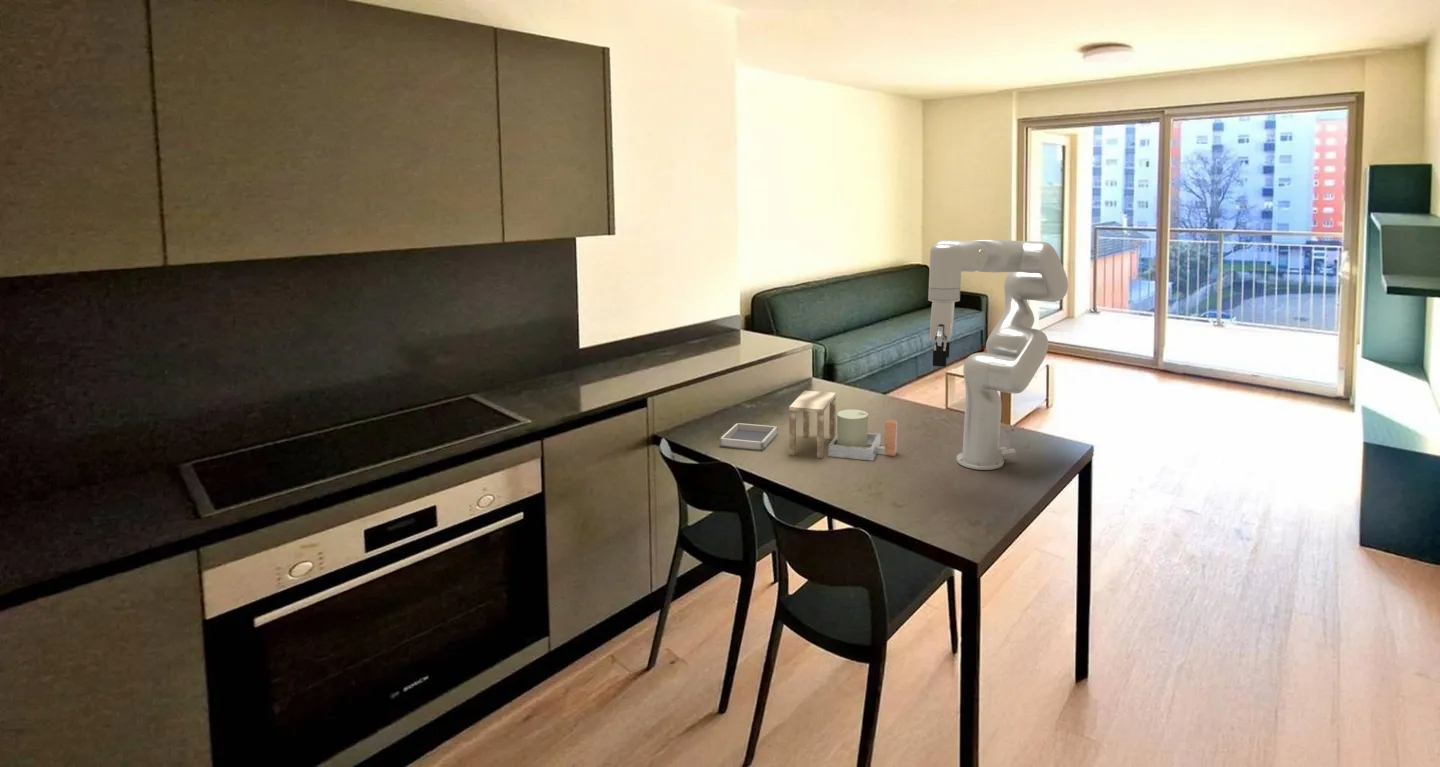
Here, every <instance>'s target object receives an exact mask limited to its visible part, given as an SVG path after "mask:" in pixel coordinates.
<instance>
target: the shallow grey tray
mask: <svg viewBox="0 0 1440 767" xmlns="http://www.w3.org/2000/svg"><path fill="white" fill-rule="evenodd" d="M884 429H885V430H884V432H885V433H884V446H883V445H881V440H882V439H881V438H882V434H881V433H874V432H873V433H872V432H867V446H870V447H867V448H866V447H855V446H844V445H837V432H835V436H834V438H833V439H832V440H830V443H829V444H828V457H829V456H830V457H831V458H839V459H840V458H842V459H851V460H860V461H861V460H862V461H870V462H872V461H873V462H874V459H875V457H876V455H877V454H878V455H884V456H889V457H890V456H891V457H896V455H897V448H898V447H897V445H898V441H897V440H898V420H896V419H895V420H894V419H886V420H885V427H884Z"/></svg>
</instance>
